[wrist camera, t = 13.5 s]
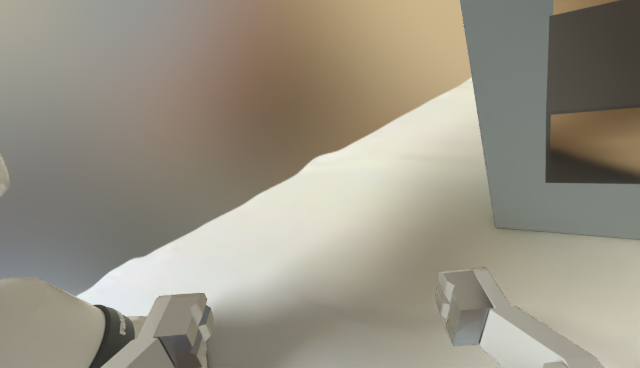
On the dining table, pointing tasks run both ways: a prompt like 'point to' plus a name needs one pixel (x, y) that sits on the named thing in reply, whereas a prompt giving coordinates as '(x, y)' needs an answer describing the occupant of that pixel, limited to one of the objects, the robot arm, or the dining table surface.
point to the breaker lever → (593, 92)
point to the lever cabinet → (531, 128)
